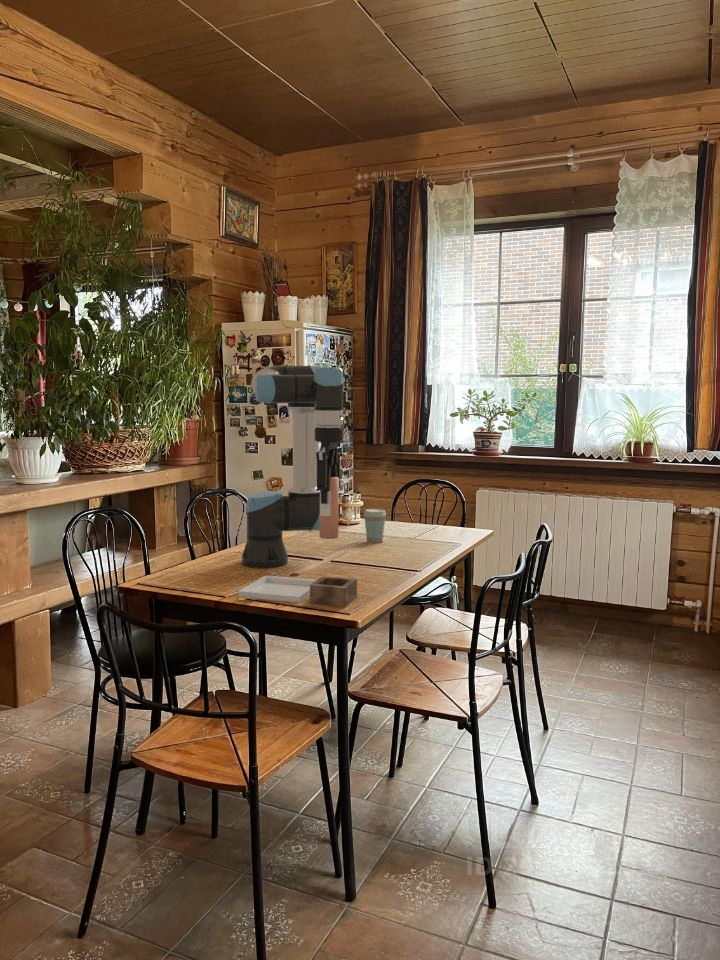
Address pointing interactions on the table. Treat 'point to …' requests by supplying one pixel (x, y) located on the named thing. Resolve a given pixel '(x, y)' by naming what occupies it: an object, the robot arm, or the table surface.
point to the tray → (277, 589)
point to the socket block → (333, 591)
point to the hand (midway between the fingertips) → (328, 513)
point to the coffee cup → (374, 525)
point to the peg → (331, 522)
